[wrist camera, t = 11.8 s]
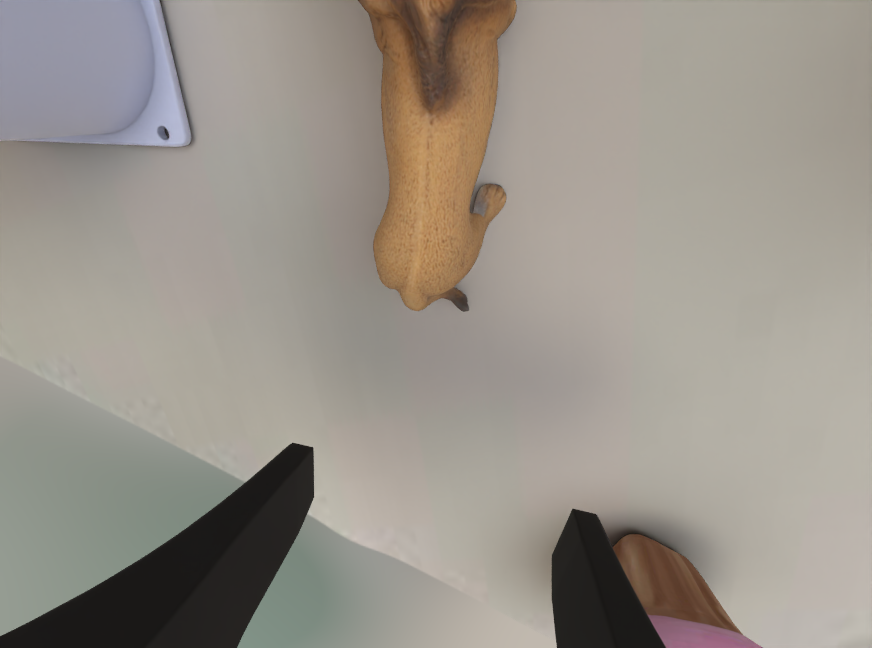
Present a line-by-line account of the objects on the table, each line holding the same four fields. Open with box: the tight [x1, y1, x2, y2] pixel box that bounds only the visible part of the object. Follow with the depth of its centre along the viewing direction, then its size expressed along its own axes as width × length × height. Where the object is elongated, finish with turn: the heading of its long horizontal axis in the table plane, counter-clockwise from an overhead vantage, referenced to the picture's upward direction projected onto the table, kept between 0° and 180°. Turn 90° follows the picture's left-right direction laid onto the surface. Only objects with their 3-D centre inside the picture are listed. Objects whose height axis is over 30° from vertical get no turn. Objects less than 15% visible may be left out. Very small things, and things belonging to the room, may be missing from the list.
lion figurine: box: [358, 0, 517, 312], centre depth 12 cm, size 15×5×9 cm, turn 7°
